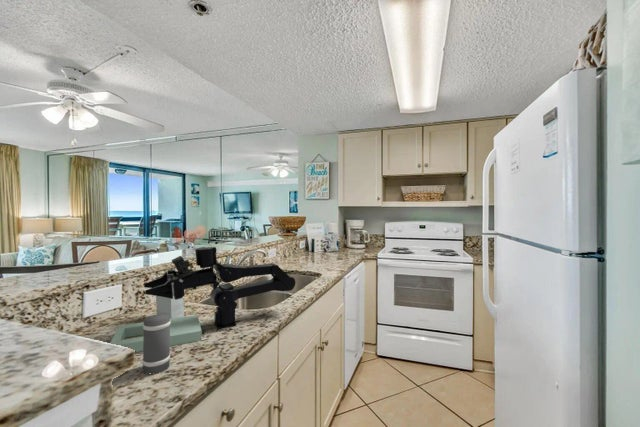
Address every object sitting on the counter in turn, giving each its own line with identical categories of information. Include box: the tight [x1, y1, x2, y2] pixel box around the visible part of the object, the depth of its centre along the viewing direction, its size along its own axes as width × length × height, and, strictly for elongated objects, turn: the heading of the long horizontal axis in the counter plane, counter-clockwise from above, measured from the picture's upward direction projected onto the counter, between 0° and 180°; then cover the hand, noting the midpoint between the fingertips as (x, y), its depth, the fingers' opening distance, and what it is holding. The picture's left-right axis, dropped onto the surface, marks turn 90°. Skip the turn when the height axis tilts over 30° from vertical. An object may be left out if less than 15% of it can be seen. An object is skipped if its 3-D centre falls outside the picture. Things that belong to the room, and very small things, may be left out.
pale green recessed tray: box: [110, 314, 203, 353], centre depth 92 cm, size 24×16×3 cm, turn 118°
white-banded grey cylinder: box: [142, 314, 171, 375], centre depth 74 cm, size 6×6×13 cm
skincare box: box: [155, 296, 185, 318], centre depth 108 cm, size 8×6×15 cm
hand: (144, 288), depth 89 cm, fingers open, 9 cm apart
